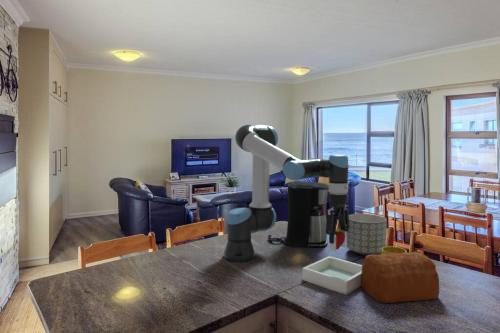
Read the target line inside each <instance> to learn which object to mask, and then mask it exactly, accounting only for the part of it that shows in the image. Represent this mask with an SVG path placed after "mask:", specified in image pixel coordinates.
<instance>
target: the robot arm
mask: <svg viewBox="0 0 500 333" xmlns="http://www.w3.org/2000/svg"><path fill="white" fill-rule="evenodd" d="M234 140H235V143H236V145H237V146H238V147H239V148H240V149H241V150H243V152H246V153H250V154H251V155H252V189H251V190H252V196H251V197H252V198H251V202H250V203H249V205H248V207H237V208H233V209H230V210H229V212H228V213H227V219H226V223H227V226H226V229H227V242H226V246H225V249H224V252H223V257H224V259H226V261H231V262H235V263H240V262H241V263H242V262H247V261H248V262H249V261H251V260H253V259H255V257H256V253H255V252H256V251H255V249H254V245H253V242H252V234H255V233H259V232H260V233H261V232H264V231H265V232H266V231H268V230H270V229H272V228H273V227H274V226H275V224H276V222H277V213H276V212H275V209H274V208H273V205H272V203H271V202H270V170H271V168H270V167H271V166H270V165H272V166H274V167H275V168H277V169H278V170H281V171H282V172H283V175H284V176H285V178H286V179H287V180H295V181H299V180H301V179H302V180H303V179H312V178H327V179H328V185H329V192H328V202H329V203H330V205H331V206H330V208H329V209H326V213H325V214H326V234H327V236H328V237H329V238H328V243H329V244H328V250H329V251H330V252H335V253H336V252H337V249H336V235H335V232H336V229H337V228H338V227H337V225H338V226H339V229H340V230H345V231H342V232H343V233H344V234H345V240H344V242H343V244H342V245H341V246H340V248H341V247H342V248H347V247H346V231H347V232H348V230H349V215H350V214H349V213H350V212H349V210H350V205H346V204H347V203H349V202H348V201H349V195H348V192H349V157H348V156H347V155H345V154H330V155H329V157H328V159H326V158H325V159H323V158H315V157H314V158H308V159H300V158H297V157H296V156H294V155H292V154H290V153H288V152H286V151H284V150H283V149H281V148H279V147H278V146H277V145H278V142H279V135H278V132H277V131H276V129H275V128H274V127H273V126H270V125H266V124H245V125H242V126H240V127H239V128H238V129H237V131H236V133H235V139H234Z"/></svg>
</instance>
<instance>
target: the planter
mask: <svg viewBox="0 0 500 333" xmlns="http://www.w3.org/2000/svg"><path fill="white" fill-rule="evenodd" d="M387 223H388V222H387V218H386V217H385V216H381V215H376V214H371V213H370V214H368V213H352V214H349V230H348V232H347V231H346V247H345V248H347V249H348V250H350V251H352V252H353V253H355V254H357V255H359V256H364V257H366V256H367V255H379V254H381V249H382V248H383V247H387V226H388V224H387Z"/></svg>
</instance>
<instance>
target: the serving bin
mask: <svg viewBox="0 0 500 333" xmlns="http://www.w3.org/2000/svg"><path fill="white" fill-rule="evenodd" d="M362 265H363V264H360V263H355V262H351V261H348V260H345V259H341V258H337V257H335V256H326V257H324V258H321V259H320V260H318V261H315V262H314V263H313V262H312V263H310V264H308V265H306V266H303V267H302V280H303V281H305V282H308V283H311V284H314V285H317V286H320V287H322V288H325V289H328V290H331V291H333V292H335V293H336V292H337V293H339V294H342V295H345V296H347V295H349V294H350V293H352V292H353V291H355V290H357V289H358V288H359V287H361V274H362Z"/></svg>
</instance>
